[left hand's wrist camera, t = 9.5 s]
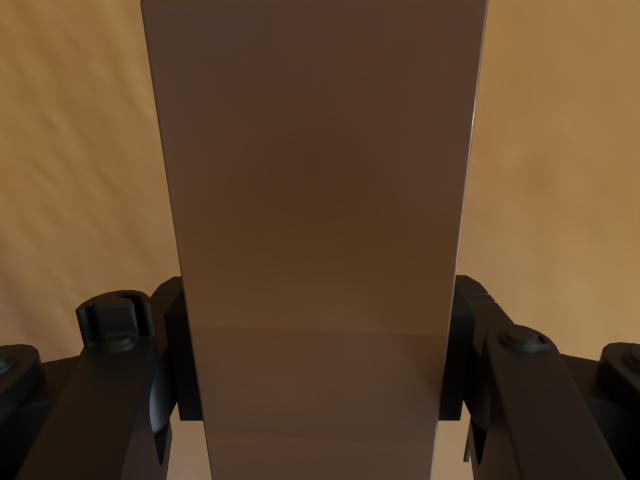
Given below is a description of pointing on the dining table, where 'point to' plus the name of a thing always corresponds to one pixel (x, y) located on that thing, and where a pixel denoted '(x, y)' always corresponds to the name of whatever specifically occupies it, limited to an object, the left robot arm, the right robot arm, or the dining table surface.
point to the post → (317, 221)
